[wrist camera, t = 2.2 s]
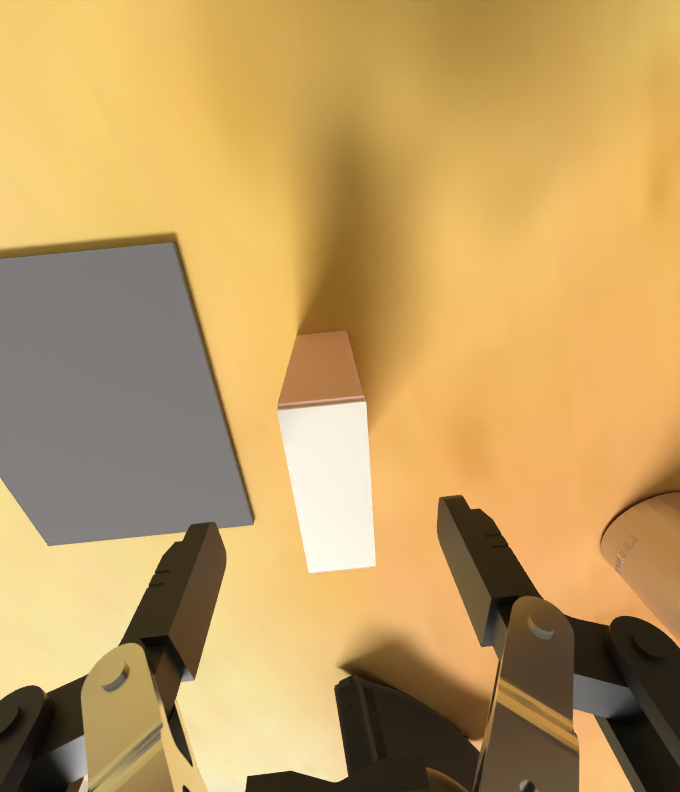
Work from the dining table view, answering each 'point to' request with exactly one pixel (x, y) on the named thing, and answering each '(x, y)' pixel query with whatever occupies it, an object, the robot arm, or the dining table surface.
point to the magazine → (399, 731)
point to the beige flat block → (328, 452)
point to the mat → (111, 399)
